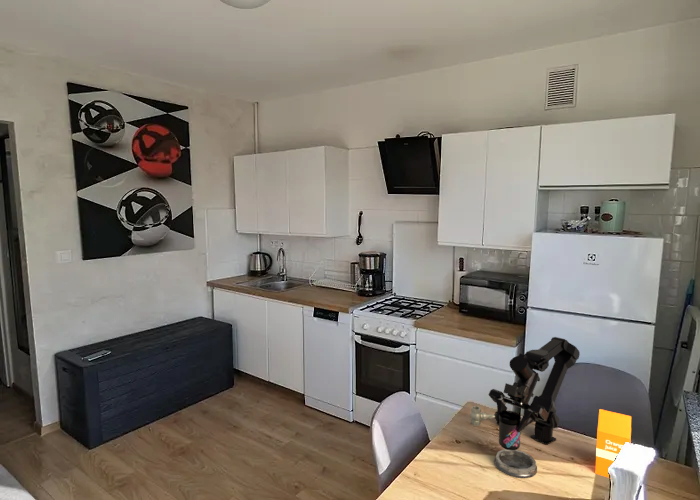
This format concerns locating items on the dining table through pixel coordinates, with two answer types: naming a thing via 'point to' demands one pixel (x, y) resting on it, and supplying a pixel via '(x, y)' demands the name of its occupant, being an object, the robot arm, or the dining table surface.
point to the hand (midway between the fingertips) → (507, 427)
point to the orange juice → (610, 438)
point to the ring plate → (516, 463)
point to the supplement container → (509, 430)
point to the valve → (479, 415)
